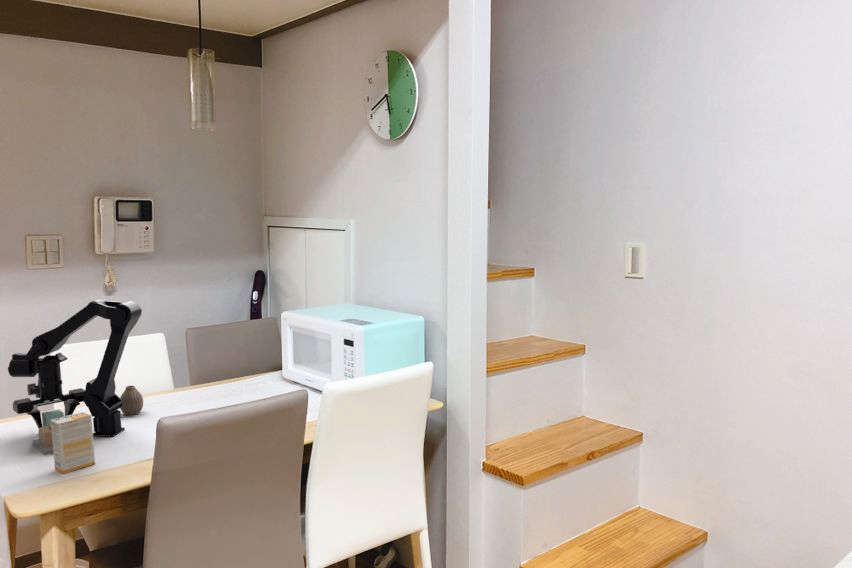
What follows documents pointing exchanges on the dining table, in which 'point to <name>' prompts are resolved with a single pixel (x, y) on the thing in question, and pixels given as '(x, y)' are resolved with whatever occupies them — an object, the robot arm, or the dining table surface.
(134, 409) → the vase
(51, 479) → the dining table surface
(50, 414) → the block
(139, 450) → the dining table surface
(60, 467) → the supplement box
